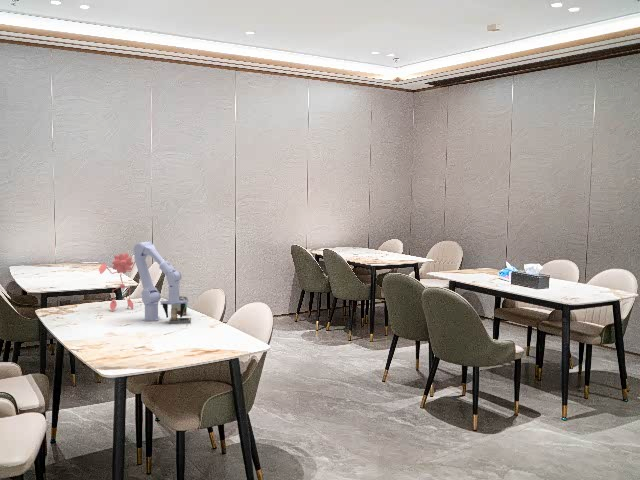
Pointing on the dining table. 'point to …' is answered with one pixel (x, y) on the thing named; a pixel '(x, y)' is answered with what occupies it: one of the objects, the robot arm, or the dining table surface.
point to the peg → (174, 314)
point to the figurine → (121, 265)
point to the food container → (180, 306)
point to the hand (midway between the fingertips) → (174, 317)
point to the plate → (180, 321)
